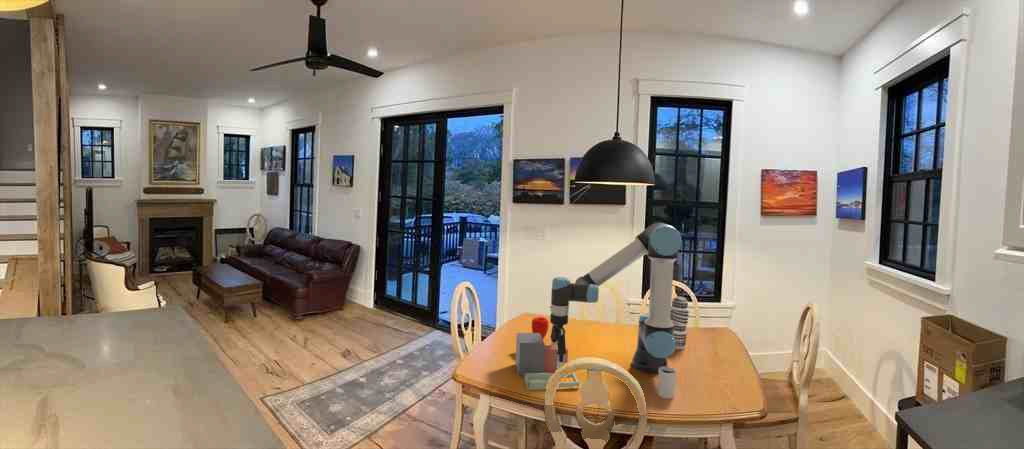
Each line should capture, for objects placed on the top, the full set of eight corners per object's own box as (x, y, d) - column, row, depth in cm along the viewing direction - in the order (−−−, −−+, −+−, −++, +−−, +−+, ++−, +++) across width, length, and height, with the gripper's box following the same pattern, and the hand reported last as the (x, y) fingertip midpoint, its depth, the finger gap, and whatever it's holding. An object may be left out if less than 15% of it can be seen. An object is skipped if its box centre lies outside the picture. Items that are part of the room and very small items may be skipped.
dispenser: (539, 364, 202) (541, 333, 201) (544, 376, 190) (546, 343, 189) (515, 364, 201) (516, 332, 200) (518, 376, 189) (520, 342, 188)
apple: (542, 342, 230) (543, 321, 229) (527, 338, 235) (528, 318, 234) (550, 337, 238) (551, 317, 237) (536, 334, 242) (537, 314, 242)
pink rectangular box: (564, 367, 200) (565, 345, 199) (566, 372, 195) (568, 349, 194) (527, 367, 198) (528, 345, 197) (529, 372, 193) (530, 349, 192)
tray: (573, 379, 188) (573, 373, 188) (578, 389, 179) (579, 382, 179) (524, 379, 186) (524, 373, 186) (527, 389, 177) (527, 383, 177)
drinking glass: (658, 398, 174) (660, 372, 173) (655, 390, 181) (657, 365, 180) (676, 400, 173) (678, 374, 172) (673, 392, 180) (675, 367, 179)
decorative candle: (667, 347, 231) (670, 298, 228) (666, 341, 239) (670, 294, 237) (686, 350, 228) (690, 300, 226) (685, 344, 237) (689, 296, 234)
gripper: (545, 305, 207) (543, 351, 209) (556, 322, 182) (553, 374, 184) (562, 306, 207) (559, 351, 209) (575, 323, 183) (572, 374, 185)
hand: (556, 362), depth 197 cm, fingers open, 13 cm apart
